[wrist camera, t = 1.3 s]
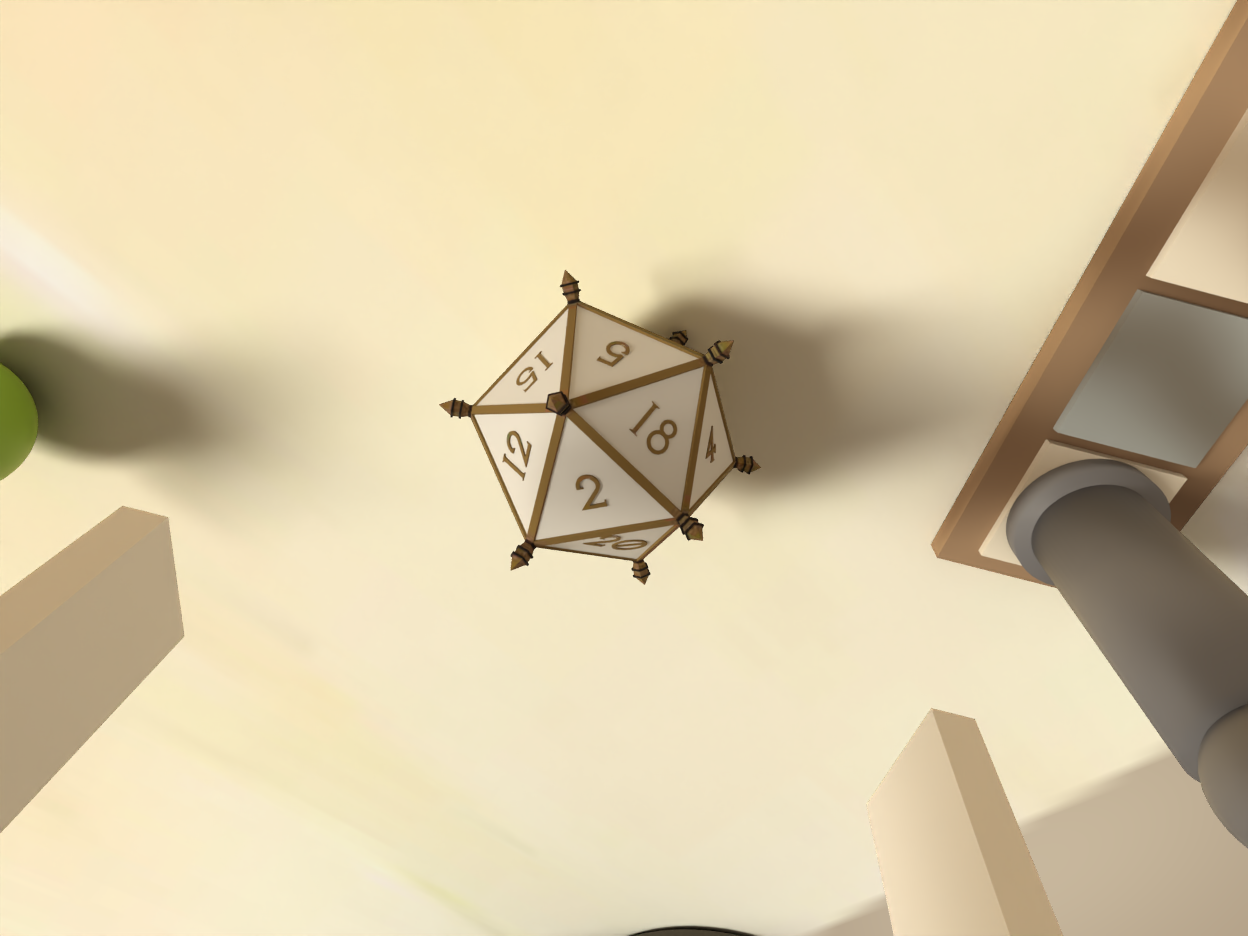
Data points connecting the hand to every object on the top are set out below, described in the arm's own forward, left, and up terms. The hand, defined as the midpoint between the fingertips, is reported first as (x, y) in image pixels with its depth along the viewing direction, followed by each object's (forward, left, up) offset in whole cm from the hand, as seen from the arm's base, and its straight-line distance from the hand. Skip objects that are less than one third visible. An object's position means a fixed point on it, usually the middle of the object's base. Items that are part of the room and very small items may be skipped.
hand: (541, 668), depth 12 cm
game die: (0, 0, -14) cm, 14 cm away
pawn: (0, -16, -12) cm, 20 cm away
